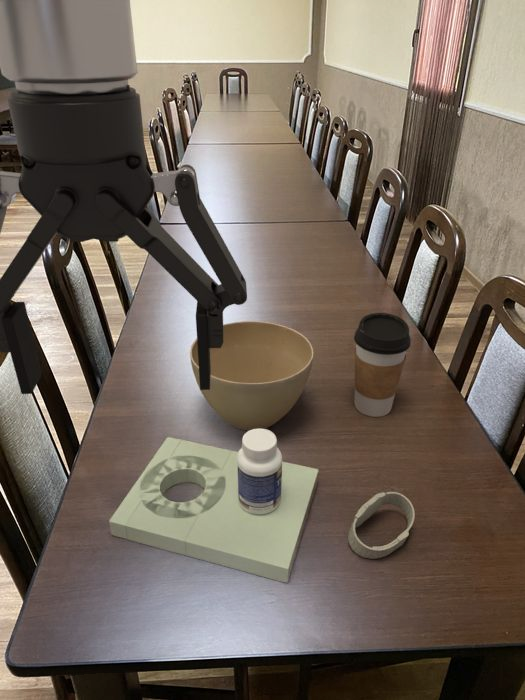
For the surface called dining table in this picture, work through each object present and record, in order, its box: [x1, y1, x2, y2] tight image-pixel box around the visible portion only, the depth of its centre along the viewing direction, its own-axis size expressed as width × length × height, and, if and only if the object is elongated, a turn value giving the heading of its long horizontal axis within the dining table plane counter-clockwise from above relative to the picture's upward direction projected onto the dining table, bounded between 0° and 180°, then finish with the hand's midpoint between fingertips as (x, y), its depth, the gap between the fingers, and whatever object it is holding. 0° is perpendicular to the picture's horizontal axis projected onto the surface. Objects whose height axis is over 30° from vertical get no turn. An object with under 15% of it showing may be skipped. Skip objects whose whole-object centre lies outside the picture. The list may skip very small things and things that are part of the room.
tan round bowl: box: [189, 320, 314, 432], centre depth 82 cm, size 18×18×12 cm
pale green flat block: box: [108, 436, 319, 584], centre depth 68 cm, size 22×16×2 cm
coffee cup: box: [353, 312, 412, 418], centre depth 83 cm, size 8×8×15 cm
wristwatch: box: [347, 491, 416, 560], centre depth 64 cm, size 9×6×5 cm
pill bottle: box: [237, 428, 283, 514], centre depth 64 cm, size 5×5×10 cm
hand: (119, 382), depth 43 cm, fingers open, 13 cm apart
